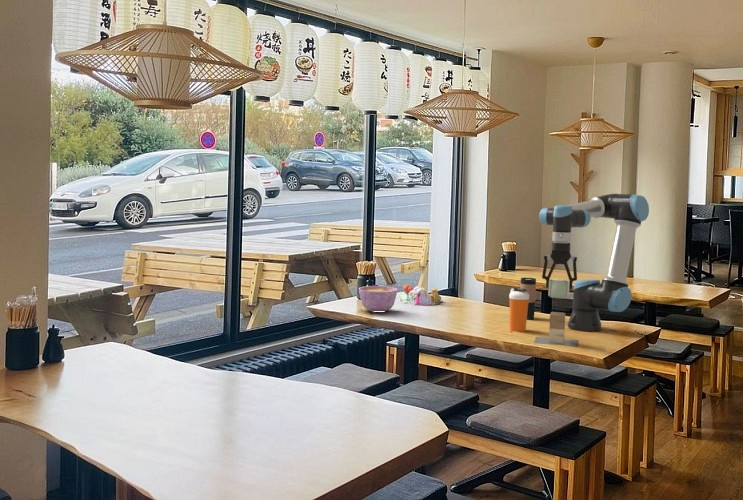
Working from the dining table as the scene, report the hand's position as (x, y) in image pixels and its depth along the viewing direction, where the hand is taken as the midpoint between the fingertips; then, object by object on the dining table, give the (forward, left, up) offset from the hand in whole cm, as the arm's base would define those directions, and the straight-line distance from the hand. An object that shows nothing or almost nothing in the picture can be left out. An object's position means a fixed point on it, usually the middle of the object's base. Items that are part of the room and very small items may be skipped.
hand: (558, 296), depth 324 cm
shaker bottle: (-18, -18, -21) cm, 33 cm away
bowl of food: (-42, -91, -21) cm, 102 cm away
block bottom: (0, 0, -20) cm, 20 cm away
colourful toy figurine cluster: (-79, -77, -21) cm, 112 cm away
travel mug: (-53, -17, -21) cm, 59 cm away
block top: (0, 0, -14) cm, 14 cm away
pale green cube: (0, 0, 0) cm, 0 cm away
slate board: (0, 0, -21) cm, 21 cm away
